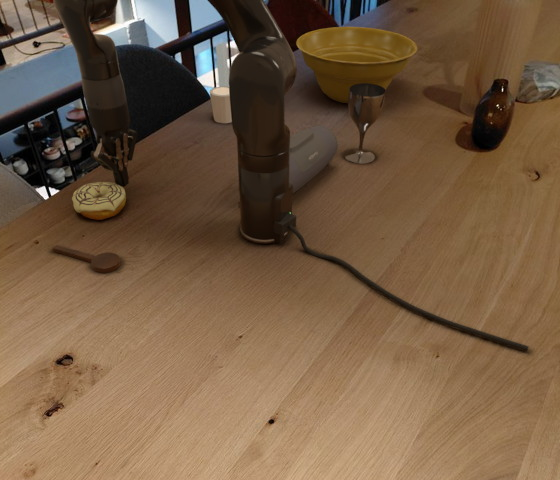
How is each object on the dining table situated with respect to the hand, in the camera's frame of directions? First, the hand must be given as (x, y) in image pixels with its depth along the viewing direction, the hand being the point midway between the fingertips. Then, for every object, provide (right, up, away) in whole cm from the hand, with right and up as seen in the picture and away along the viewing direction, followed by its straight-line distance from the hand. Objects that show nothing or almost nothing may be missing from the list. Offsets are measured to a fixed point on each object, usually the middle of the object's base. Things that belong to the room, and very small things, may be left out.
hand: (122, 184), depth 120 cm
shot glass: (+19, +27, +30) cm, 44 cm away
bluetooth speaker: (+37, +9, -2) cm, 38 cm away
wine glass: (+52, +11, +15) cm, 55 cm away
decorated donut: (-4, -6, -3) cm, 7 cm away
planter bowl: (+53, +39, +42) cm, 78 cm away
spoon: (-3, -19, -15) cm, 24 cm away
